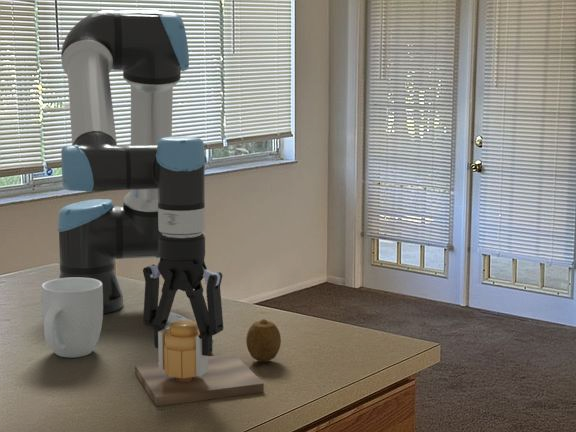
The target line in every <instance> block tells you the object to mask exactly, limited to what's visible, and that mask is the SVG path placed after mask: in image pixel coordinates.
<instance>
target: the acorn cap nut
mask: <svg viewBox="0 0 576 432" xmlns="http://www.w3.org/2000/svg"><path fill="white" fill-rule="evenodd" d="M199 335H200V332H199V329H198V326H197V322H196V321H193V320H192V321H188V320H183V321H176V322H173V323H171V324H170V330H168V331H166V332H165V344H164V371H165V373H166V374H167V375H168V376H171V377H177V378H189V377H196V337H197V336H199Z"/></svg>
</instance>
